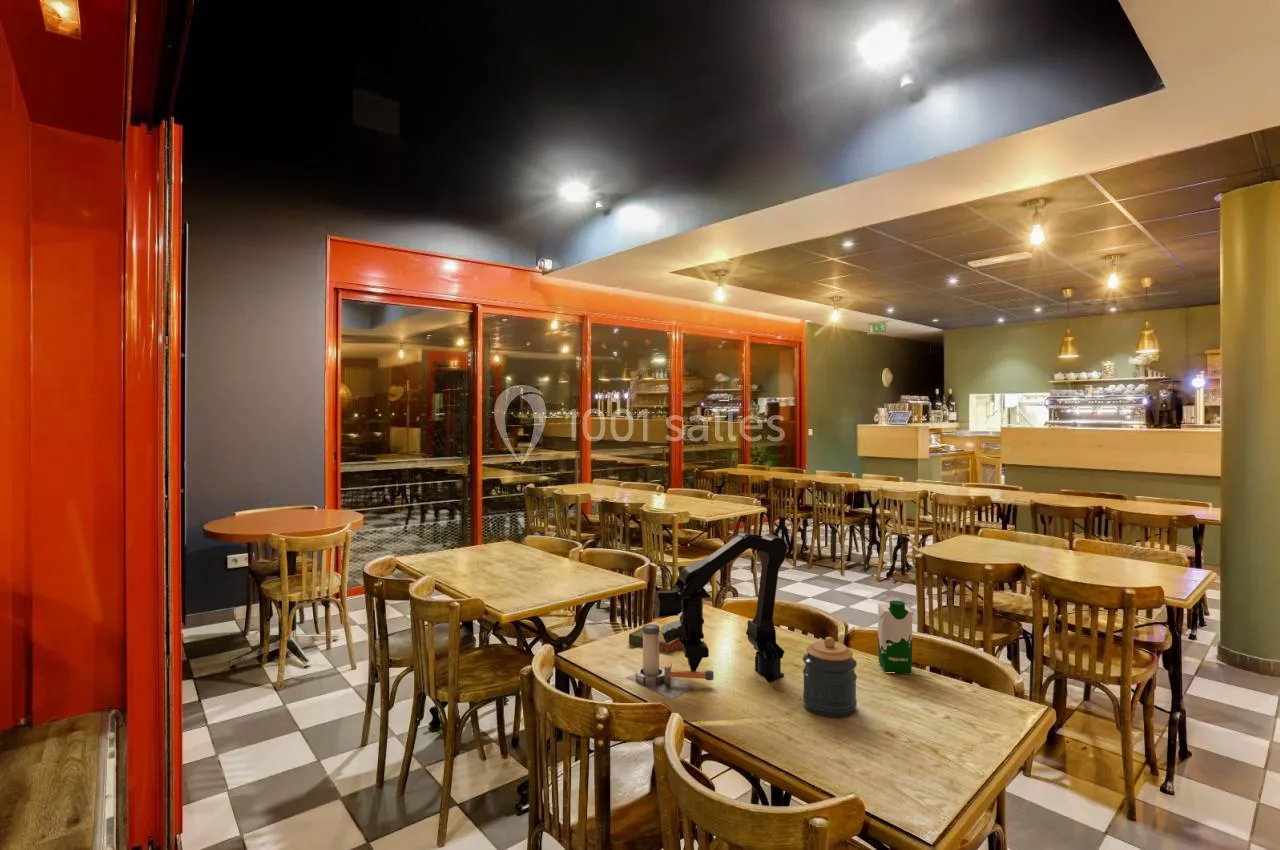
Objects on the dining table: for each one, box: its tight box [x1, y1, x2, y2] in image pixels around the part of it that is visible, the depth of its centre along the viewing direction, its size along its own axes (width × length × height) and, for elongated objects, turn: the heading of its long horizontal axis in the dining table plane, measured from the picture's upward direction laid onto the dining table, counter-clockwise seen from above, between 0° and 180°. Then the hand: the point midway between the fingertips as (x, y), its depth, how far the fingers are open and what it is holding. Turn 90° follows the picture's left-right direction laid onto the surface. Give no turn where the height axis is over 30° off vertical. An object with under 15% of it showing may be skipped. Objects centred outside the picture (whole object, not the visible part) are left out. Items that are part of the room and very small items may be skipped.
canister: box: [802, 636, 858, 719], centre depth 158 cm, size 13×13×18 cm
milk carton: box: [877, 600, 914, 674], centre depth 182 cm, size 9×9×20 cm
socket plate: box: [625, 665, 698, 700], centre depth 171 cm, size 18×10×3 cm, turn 41°
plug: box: [641, 623, 661, 676], centre depth 174 cm, size 5×5×14 cm
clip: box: [664, 660, 714, 685], centre depth 173 cm, size 13×8×4 cm, turn 82°
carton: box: [628, 627, 684, 654], centre depth 201 cm, size 8×16×4 cm, turn 54°
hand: (691, 668), depth 173 cm, fingers open, 4 cm apart
